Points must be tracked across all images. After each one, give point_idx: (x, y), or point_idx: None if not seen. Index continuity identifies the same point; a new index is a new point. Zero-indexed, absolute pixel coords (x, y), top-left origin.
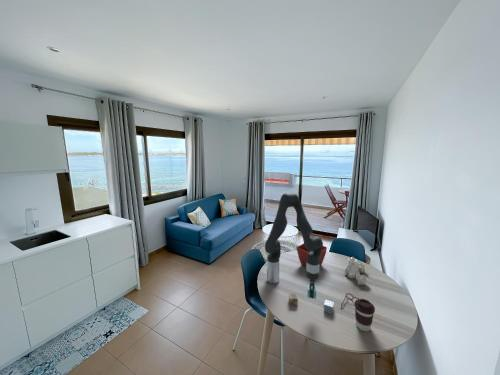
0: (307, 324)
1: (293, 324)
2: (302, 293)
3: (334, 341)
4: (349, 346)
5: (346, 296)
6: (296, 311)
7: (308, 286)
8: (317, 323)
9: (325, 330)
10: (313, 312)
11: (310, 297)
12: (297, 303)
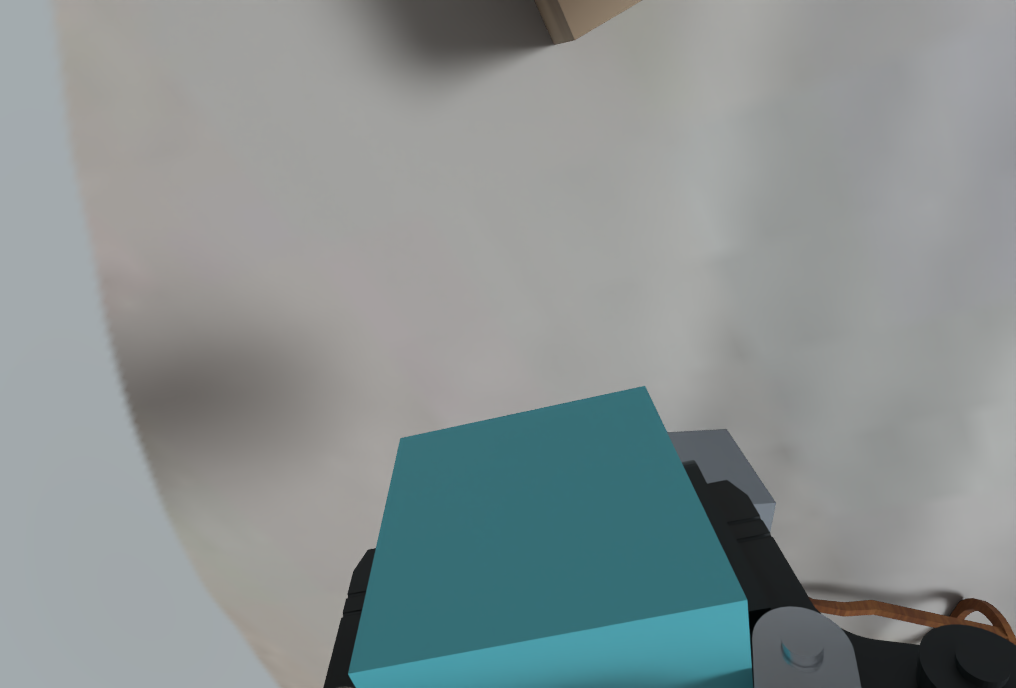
0: (260, 322)
1: (101, 139)
2: (942, 10)
3: (247, 597)
4: (288, 685)
5: (983, 607)
6: (398, 78)
7: (614, 638)
8: (364, 420)
9: (322, 511)
10: (529, 329)
11: (366, 554)
12: (557, 38)
